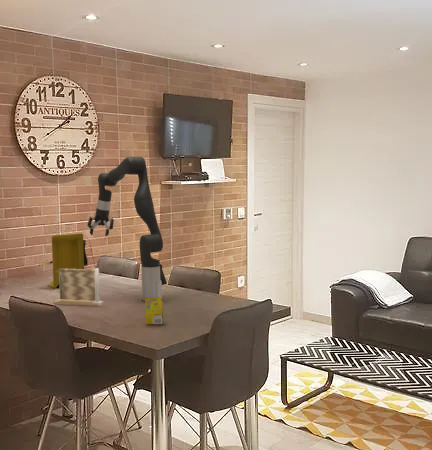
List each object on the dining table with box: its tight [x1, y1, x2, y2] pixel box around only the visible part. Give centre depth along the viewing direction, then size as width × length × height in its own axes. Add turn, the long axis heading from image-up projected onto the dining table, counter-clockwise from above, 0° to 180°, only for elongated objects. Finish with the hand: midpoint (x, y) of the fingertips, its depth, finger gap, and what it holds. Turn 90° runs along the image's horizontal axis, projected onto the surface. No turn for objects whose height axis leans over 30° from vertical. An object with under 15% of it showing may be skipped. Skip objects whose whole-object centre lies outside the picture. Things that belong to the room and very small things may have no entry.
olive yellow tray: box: [38, 232, 96, 290], centre depth 338 cm, size 31×14×30 cm, turn 125°
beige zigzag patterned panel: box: [58, 268, 96, 301], centre depth 292 cm, size 18×2×15 cm, turn 76°
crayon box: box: [144, 297, 164, 325], centre depth 255 cm, size 7×3×12 cm, turn 88°
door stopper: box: [160, 263, 168, 286], centre depth 339 cm, size 9×6×12 cm, turn 124°
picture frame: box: [52, 267, 104, 307], centre depth 292 cm, size 25×5×18 cm, turn 76°
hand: (98, 235), depth 339 cm, fingers open, 8 cm apart
